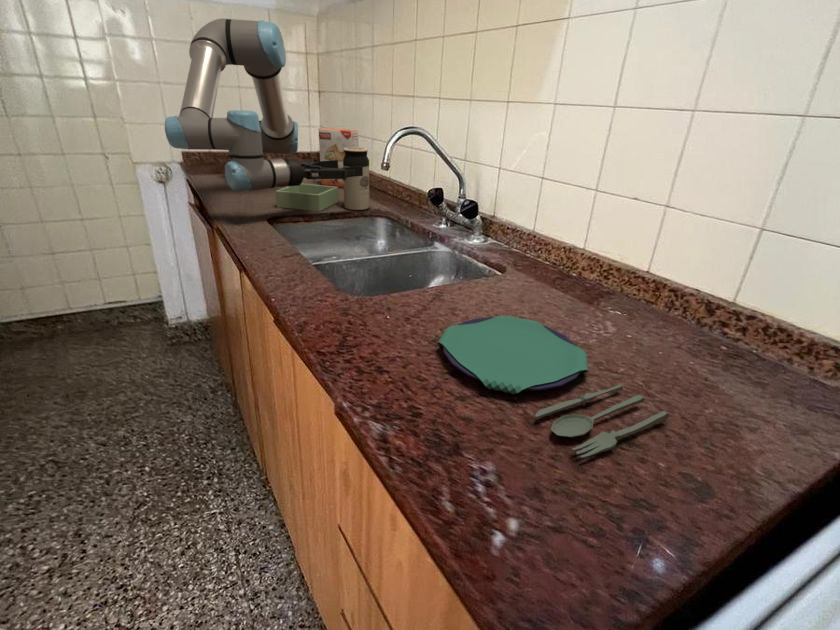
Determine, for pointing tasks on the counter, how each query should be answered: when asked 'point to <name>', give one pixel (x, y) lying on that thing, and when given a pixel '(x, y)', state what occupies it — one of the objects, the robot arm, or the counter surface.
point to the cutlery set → (534, 371)
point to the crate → (307, 197)
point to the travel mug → (356, 179)
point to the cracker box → (335, 148)
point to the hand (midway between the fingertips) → (349, 167)
